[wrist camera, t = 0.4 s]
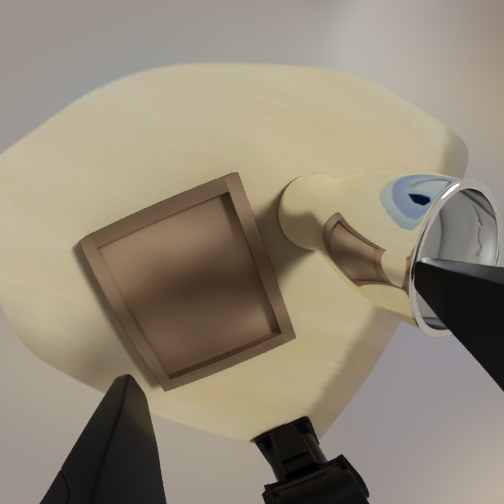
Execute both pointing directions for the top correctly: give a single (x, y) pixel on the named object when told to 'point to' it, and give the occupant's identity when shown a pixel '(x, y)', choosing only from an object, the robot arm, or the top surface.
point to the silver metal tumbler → (392, 231)
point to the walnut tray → (192, 282)
